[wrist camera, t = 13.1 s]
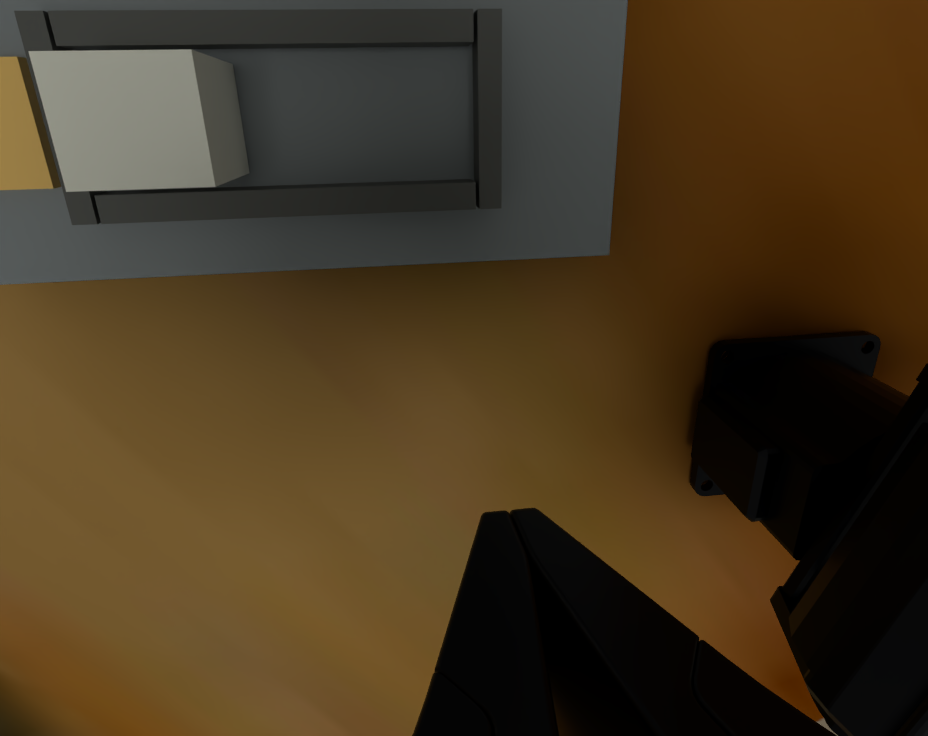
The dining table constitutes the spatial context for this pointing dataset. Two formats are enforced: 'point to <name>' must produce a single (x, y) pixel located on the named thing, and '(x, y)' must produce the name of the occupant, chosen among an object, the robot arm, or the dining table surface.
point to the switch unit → (334, 137)
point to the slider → (141, 118)
